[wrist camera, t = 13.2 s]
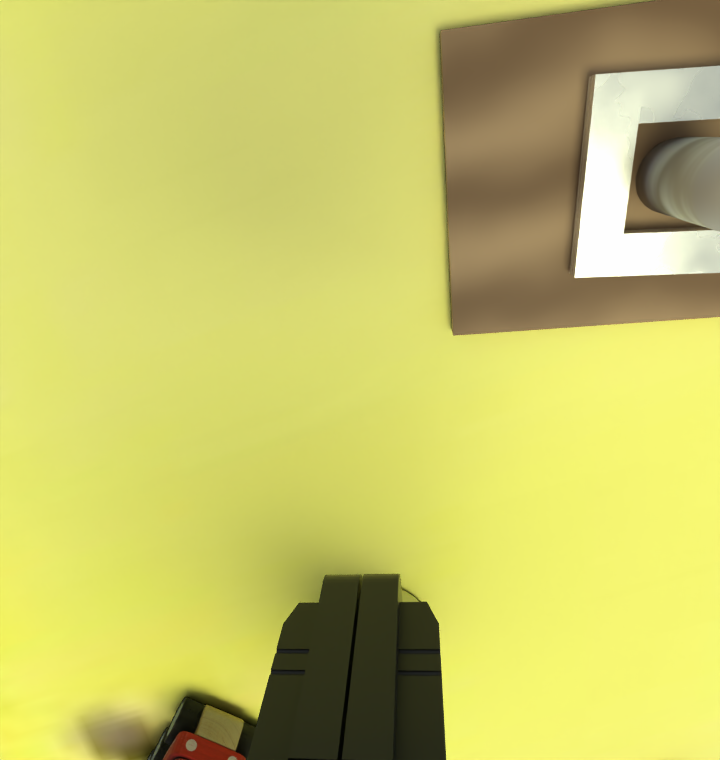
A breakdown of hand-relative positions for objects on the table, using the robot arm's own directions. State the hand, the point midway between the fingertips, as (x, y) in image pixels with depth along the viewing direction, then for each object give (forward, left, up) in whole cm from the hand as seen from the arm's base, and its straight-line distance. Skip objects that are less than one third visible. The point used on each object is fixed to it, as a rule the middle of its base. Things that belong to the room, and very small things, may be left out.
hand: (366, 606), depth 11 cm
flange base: (+5, -16, -27) cm, 32 cm away
